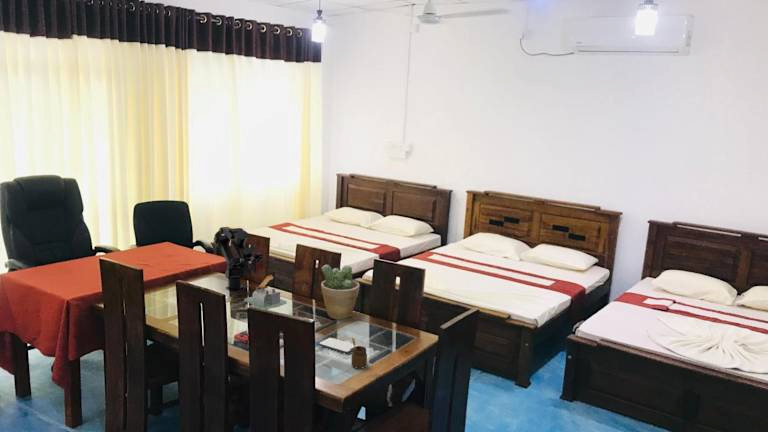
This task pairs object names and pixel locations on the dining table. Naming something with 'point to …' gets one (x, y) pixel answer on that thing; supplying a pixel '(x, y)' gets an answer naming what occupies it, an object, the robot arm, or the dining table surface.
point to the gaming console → (242, 336)
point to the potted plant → (339, 291)
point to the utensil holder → (359, 355)
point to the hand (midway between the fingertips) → (253, 274)
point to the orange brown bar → (265, 281)
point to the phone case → (337, 345)
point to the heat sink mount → (265, 298)
